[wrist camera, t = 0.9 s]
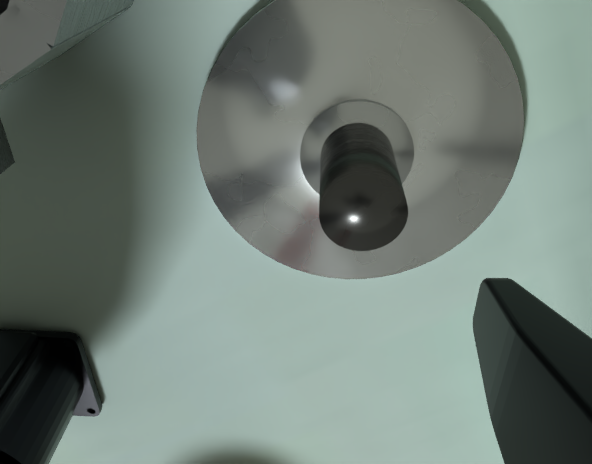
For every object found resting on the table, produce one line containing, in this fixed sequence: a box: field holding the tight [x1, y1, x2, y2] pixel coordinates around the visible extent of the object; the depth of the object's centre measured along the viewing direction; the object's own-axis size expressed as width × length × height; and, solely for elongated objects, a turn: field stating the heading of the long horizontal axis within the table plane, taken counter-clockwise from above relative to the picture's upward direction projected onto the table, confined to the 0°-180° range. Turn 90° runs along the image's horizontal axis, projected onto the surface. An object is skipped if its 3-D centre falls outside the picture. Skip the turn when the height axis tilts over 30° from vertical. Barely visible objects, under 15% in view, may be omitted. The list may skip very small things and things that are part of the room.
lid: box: [197, 0, 524, 279], centre depth 18 cm, size 13×13×5 cm
